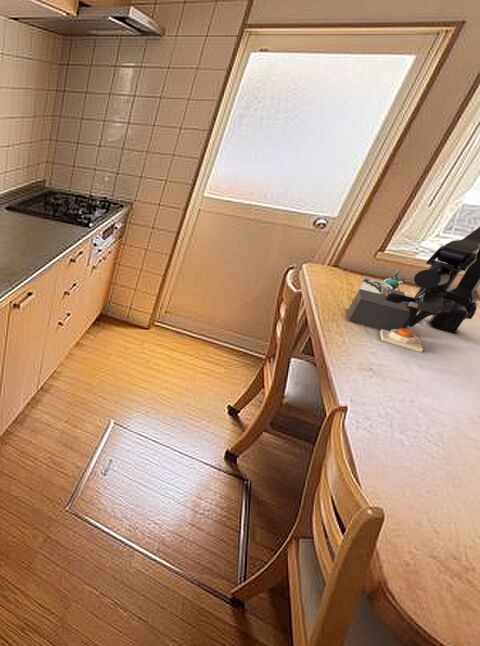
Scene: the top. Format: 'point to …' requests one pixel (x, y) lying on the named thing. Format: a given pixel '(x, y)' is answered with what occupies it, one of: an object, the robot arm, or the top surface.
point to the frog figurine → (394, 281)
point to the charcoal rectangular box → (377, 311)
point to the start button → (405, 332)
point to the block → (401, 339)
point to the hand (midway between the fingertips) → (409, 326)
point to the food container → (374, 286)
